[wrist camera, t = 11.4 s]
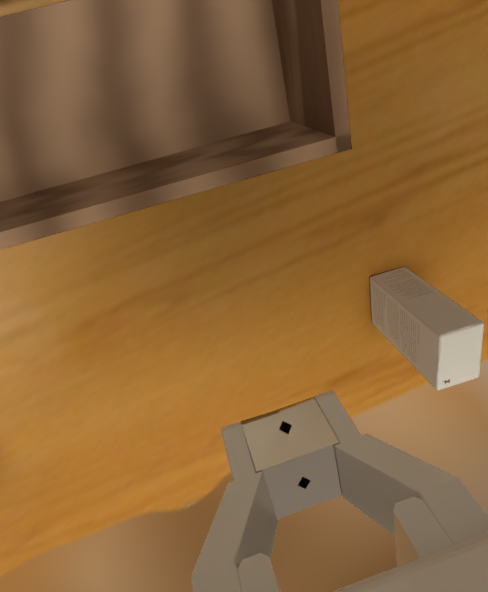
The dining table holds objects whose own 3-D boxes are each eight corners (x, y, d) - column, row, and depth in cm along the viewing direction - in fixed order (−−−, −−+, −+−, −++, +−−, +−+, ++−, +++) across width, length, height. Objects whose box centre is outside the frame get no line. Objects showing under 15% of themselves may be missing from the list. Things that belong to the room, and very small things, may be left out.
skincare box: (406, 312, 49) (480, 379, 38) (370, 322, 48) (435, 393, 38) (406, 263, 46) (486, 322, 35) (368, 274, 45) (438, 337, 35)
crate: (274, -47, 31) (329, -90, 22) (299, 128, 37) (351, 148, 28) (-104, 44, 29) (-205, 35, 20) (-11, 216, 35) (-57, 266, 26)
